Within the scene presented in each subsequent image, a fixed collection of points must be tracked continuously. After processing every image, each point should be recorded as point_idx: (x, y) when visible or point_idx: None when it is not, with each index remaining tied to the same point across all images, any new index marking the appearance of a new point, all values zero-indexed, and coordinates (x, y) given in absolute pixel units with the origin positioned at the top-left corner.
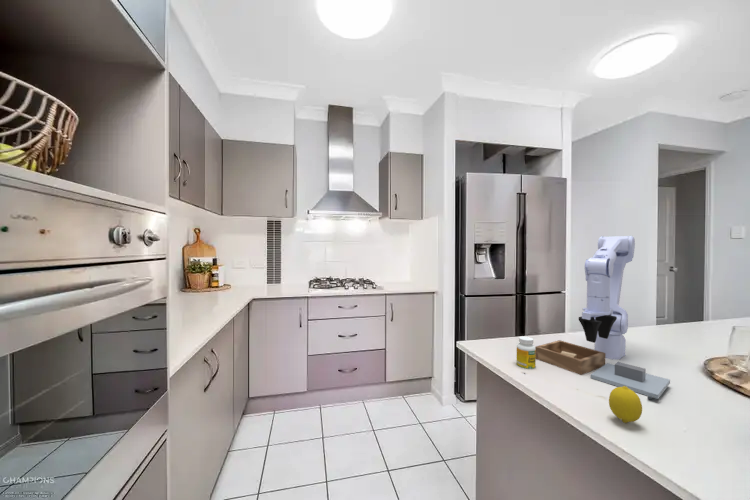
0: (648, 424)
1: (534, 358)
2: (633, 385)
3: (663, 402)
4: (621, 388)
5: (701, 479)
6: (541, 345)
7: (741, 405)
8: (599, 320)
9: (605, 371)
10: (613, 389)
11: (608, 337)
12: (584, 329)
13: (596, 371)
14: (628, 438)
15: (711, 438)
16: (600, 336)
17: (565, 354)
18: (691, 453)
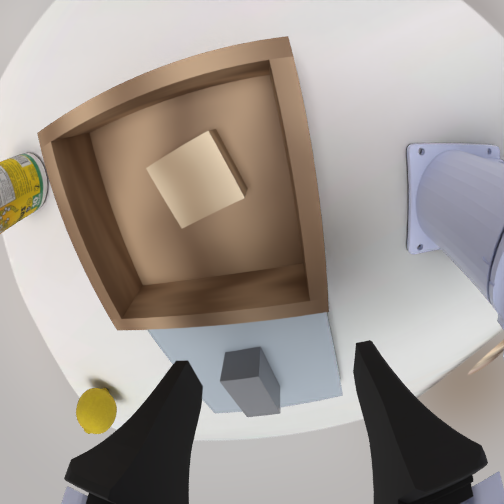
0: (136, 402)
1: (11, 225)
2: (206, 389)
3: None
4: (82, 427)
5: (114, 424)
6: (69, 118)
7: (358, 419)
8: (391, 462)
9: (218, 333)
10: (78, 416)
11: (478, 282)
12: (132, 421)
13: None
14: None
15: None
16: (356, 353)
17: (175, 182)
18: None
